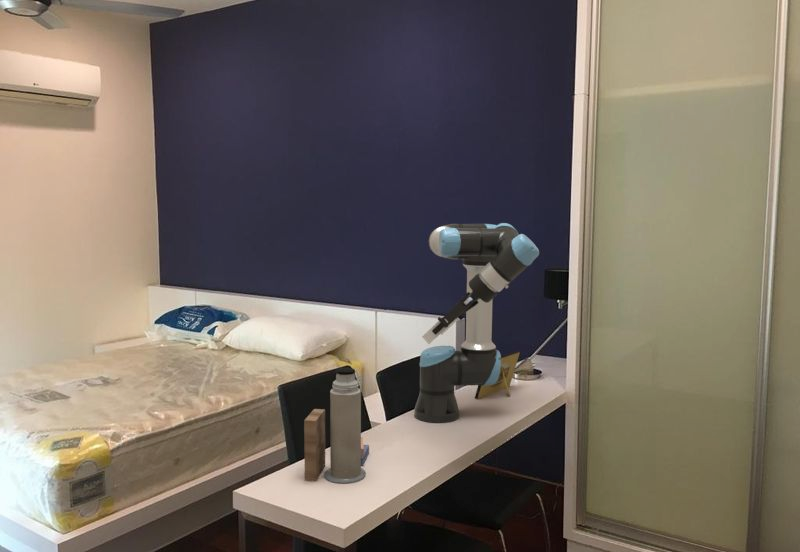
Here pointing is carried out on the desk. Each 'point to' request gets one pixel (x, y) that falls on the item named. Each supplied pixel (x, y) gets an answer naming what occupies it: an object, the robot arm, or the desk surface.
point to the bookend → (314, 444)
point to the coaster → (343, 481)
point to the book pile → (364, 452)
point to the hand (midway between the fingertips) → (432, 335)
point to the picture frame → (500, 376)
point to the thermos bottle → (345, 425)
